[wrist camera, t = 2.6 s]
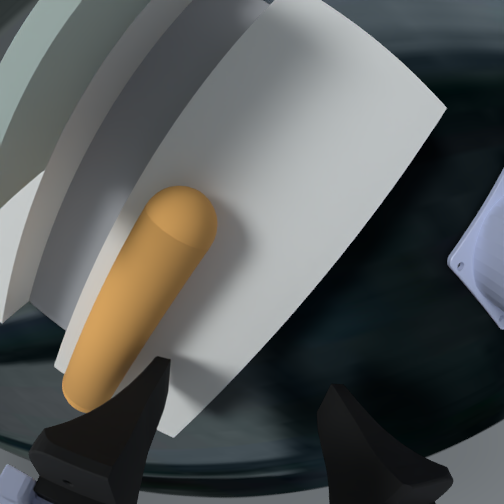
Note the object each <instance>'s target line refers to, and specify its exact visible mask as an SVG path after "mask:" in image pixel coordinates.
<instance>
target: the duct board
mask: <svg viewBox="0 0 504 504" xmlns="http://www.w3.org/2000/svg"><path fill="white" fill-rule="evenodd" d="M445 110H446V107H445V106H444V104H443V103H442V102H441V101H440V100H439V99H438V98H437V97H436V96H435V95H434V94H433V92H432V91H431V90H430V89H429V88H428V87H427V86H426V85H425V84H424V83H423V82H422V81H421V80H420V79H419V78H418V77H417V76H416V75H415V74H414V73H413V72H412V71H411V70H409V69H408V68H407V67H406V66H405V65H404V64H403V63H402V62H401V61H400V60H399V59H398V58H396V57H395V56H394V55H393V54H392V53H391V52H390V51H388V50H387V49H386V48H385V47H384V46H382V45H381V44H380V43H379V42H378V41H376V40H375V39H374V38H373V37H371V36H370V35H369V34H368V33H366V32H365V31H364V30H363V29H361V28H360V27H359V26H357V25H356V24H355V23H353V22H352V21H350V20H349V19H348V18H346V17H345V16H343V15H342V14H341V13H339V12H338V11H336V10H335V9H333V8H332V7H330V6H329V5H327V4H326V3H324V2H323V1H321V0H274V1H273V2H272V4H271V5H270V4H268V3H266V2H264V1H263V0H151V1H150V2H149V3H148V4H147V5H146V7H145V8H144V9H143V10H142V11H141V12H140V14H139V15H138V16H137V17H136V18H135V20H134V21H133V22H132V23H131V25H130V26H129V27H128V28H127V30H126V31H125V32H124V34H123V35H122V36H121V38H120V39H119V40H118V42H117V43H116V44H115V46H114V47H113V49H112V50H111V51H110V53H109V54H108V56H107V57H106V59H105V60H104V61H103V63H102V64H101V66H100V67H99V69H98V70H97V72H96V74H95V75H94V77H93V78H92V80H91V81H90V83H89V85H88V86H87V88H86V90H85V91H84V93H83V95H82V96H81V98H80V100H79V102H78V103H77V105H76V107H75V109H74V110H73V112H72V114H71V116H70V118H69V120H68V122H67V123H66V125H65V127H64V129H63V131H62V133H61V135H60V137H59V139H58V141H57V144H56V146H55V148H54V150H53V152H52V154H51V156H50V159H49V161H48V163H47V166H46V168H45V170H44V171H43V172H41V173H40V174H39V175H38V176H37V177H35V178H34V179H33V180H32V181H31V182H29V183H28V184H27V185H26V186H25V187H24V188H22V189H21V190H20V191H19V192H18V193H17V194H16V195H15V196H13V197H12V198H11V199H10V200H9V201H8V202H7V203H6V204H5V205H4V206H3V207H2V208H1V209H0V322H1V323H3V322H4V321H5V320H7V319H8V318H9V317H10V316H11V315H12V314H14V313H15V312H16V311H17V310H18V309H20V308H21V307H22V306H23V305H24V304H26V303H27V302H28V301H30V302H31V303H32V304H33V305H34V306H35V307H37V308H38V309H39V310H40V311H42V312H43V313H44V314H45V315H46V316H48V317H49V318H50V319H51V320H53V321H54V322H55V323H57V324H58V325H59V326H60V327H62V328H63V329H64V330H66V333H65V336H64V339H63V341H62V344H61V347H60V350H59V353H58V356H57V359H56V362H55V365H54V367H55V368H57V369H58V370H59V371H61V372H62V373H64V374H65V372H66V369H67V367H68V364H69V361H70V359H71V356H72V354H73V351H74V349H75V346H76V344H77V342H78V339H79V337H80V334H81V332H82V330H83V327H84V325H85V323H86V320H87V318H88V316H89V314H90V311H91V309H92V307H93V305H94V303H95V301H96V298H97V296H98V294H99V292H100V290H101V288H102V286H103V284H104V282H105V280H106V278H107V276H108V274H109V272H110V270H111V268H112V266H113V264H114V262H115V260H116V258H117V256H118V254H119V252H120V250H121V248H122V246H123V245H124V243H125V241H126V239H127V237H128V235H129V234H130V232H131V230H132V228H133V226H134V225H135V223H136V221H137V219H138V217H139V216H140V214H141V212H142V211H143V209H144V207H145V205H146V204H147V202H148V201H149V200H150V199H151V198H152V197H153V196H154V195H155V194H156V193H157V192H159V191H161V190H163V189H165V188H168V187H171V186H188V187H191V188H194V189H196V190H198V191H200V192H201V193H203V194H204V195H205V196H206V197H207V198H208V199H209V200H210V202H211V204H212V205H213V207H214V209H215V212H216V216H217V233H216V236H215V239H214V241H213V243H212V245H211V247H210V248H209V250H208V251H207V253H206V254H205V255H204V257H203V258H202V260H201V261H200V263H199V264H198V266H197V267H196V268H195V270H194V271H193V273H192V274H191V276H190V277H189V279H188V280H187V282H186V283H185V285H184V286H183V288H182V289H181V291H180V292H179V294H178V295H177V296H176V298H175V299H174V301H173V302H172V304H171V305H170V307H169V308H168V310H167V311H166V313H165V314H164V316H163V318H162V319H161V321H160V322H159V324H158V325H157V327H156V328H155V330H154V331H153V333H152V334H151V336H150V337H149V339H148V340H147V342H146V344H145V345H144V347H143V348H142V350H141V351H140V353H139V354H138V356H137V358H136V359H135V361H134V362H133V364H132V365H131V367H130V369H129V370H128V372H127V373H126V375H125V376H124V378H123V380H122V381H121V383H120V384H119V386H118V388H117V389H116V391H115V392H114V394H113V396H112V397H111V398H113V397H114V396H115V395H117V394H118V393H119V392H120V391H122V390H123V389H124V388H125V387H126V386H128V385H129V384H130V383H131V382H132V381H133V380H134V379H135V378H136V377H137V376H138V375H139V374H140V373H141V372H142V371H143V370H144V369H145V368H146V367H147V366H148V365H149V364H150V363H151V362H152V360H153V359H154V358H155V357H157V356H159V357H164V358H168V359H171V365H170V377H169V391H168V395H167V400H166V404H165V408H164V411H163V414H162V417H161V419H160V422H159V425H158V427H157V430H159V431H161V432H163V433H165V434H167V435H169V436H171V437H173V438H174V437H175V436H176V435H177V434H178V433H179V432H180V431H181V430H182V429H183V428H184V427H185V426H186V425H188V424H189V423H190V422H191V421H192V420H193V419H194V418H195V417H196V416H197V415H198V414H199V413H200V412H201V411H202V410H203V409H204V408H205V407H206V406H207V405H208V404H209V403H210V402H211V401H212V400H213V399H214V398H215V397H216V396H217V395H218V394H219V393H220V392H221V391H222V390H223V389H224V388H225V387H226V386H227V385H228V384H229V383H230V382H231V380H232V379H233V378H234V377H235V376H236V375H237V374H238V373H239V372H240V371H241V370H242V369H243V368H244V367H245V366H246V365H247V364H248V363H249V361H250V360H251V359H252V358H253V357H254V356H255V355H256V354H257V353H258V352H259V351H260V350H261V349H262V347H263V346H264V345H265V344H266V343H267V342H268V341H269V340H270V339H271V337H272V336H273V335H274V334H275V333H276V332H277V331H278V330H279V329H280V327H281V326H282V325H283V324H284V323H285V322H286V321H287V319H288V318H289V317H290V316H291V315H292V314H293V313H294V311H295V310H296V309H297V308H298V307H299V306H300V305H301V303H302V302H303V301H304V300H305V299H306V297H307V296H308V295H309V294H310V293H311V292H312V290H313V289H314V288H315V287H316V286H317V284H318V283H319V282H320V281H321V280H322V278H323V277H324V276H325V275H326V274H327V272H328V271H329V270H330V269H331V267H332V266H333V265H334V264H335V262H336V261H337V260H338V259H339V258H340V256H341V255H342V254H343V253H344V251H345V250H346V249H347V247H348V246H349V245H350V244H351V242H352V241H353V240H354V239H355V237H356V236H357V235H358V233H359V232H360V231H361V230H362V228H363V227H364V226H365V224H366V223H367V222H368V220H369V219H370V218H371V216H372V215H373V214H374V212H375V211H376V210H377V208H378V207H379V206H380V204H381V203H382V202H383V200H384V199H385V198H386V196H387V195H388V194H389V192H390V191H391V189H392V188H393V187H394V185H395V184H396V182H397V181H398V180H399V178H400V177H401V175H402V174H403V173H404V171H405V170H406V168H407V167H408V166H409V164H410V163H411V161H412V160H413V158H414V157H415V155H416V154H417V152H418V151H419V150H420V148H421V147H422V145H423V144H424V142H425V141H426V139H427V138H428V136H429V135H430V133H431V132H432V130H433V128H434V127H435V125H436V124H437V122H438V121H439V119H440V118H441V116H442V115H443V113H444V111H445Z"/></svg>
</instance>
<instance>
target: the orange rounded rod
mask: <svg viewBox="0 0 504 504" xmlns="http://www.w3.org/2000/svg"><path fill="white" fill-rule="evenodd" d="M216 233H217V216H216V212H215V209H214V207H213V205H212V204H211V202H210V200H209V199H208V198H207V197H206V196H205V195H204V194H203V193H201V192H200V191H198V190H196V189H194V188H191V187H188V186H171V187H168V188H165V189H163V190H161V191H159V192H157V193H156V194H155V195H154V196H153V197H152V198H151V199H150V200H149V201H148V202H147V204H146V205H145V207H144V209H143V211H142V212H141V214H140V216H139V217H138V219H137V221H136V223H135V225H134V226H133V228H132V230H131V232H130V234H129V235H128V237H127V239H126V241H125V243H124V245H123V246H122V248H121V250H120V252H119V254H118V256H117V258H116V260H115V262H114V264H113V266H112V268H111V270H110V272H109V274H108V276H107V278H106V280H105V282H104V284H103V286H102V288H101V290H100V292H99V294H98V296H97V298H96V301H95V303H94V305H93V307H92V309H91V311H90V314H89V316H88V318H87V320H86V323H85V325H84V327H83V330H82V332H81V334H80V337H79V339H78V342H77V344H76V346H75V349H74V351H73V354H72V356H71V359H70V361H69V364H68V367H67V369H66V372H65V375H64V377H63V382H62V388H63V393H64V395H65V398H66V399H67V401H68V402H69V403H70V405H71V406H73V407H74V408H75V409H77V410H79V411H81V412H85V413H88V412H90V411H92V410H94V409H95V408H97V407H99V406H101V405H102V404H104V403H105V402H107V401H108V400H110V399H111V397H112V396H113V394H114V392H115V391H116V389H117V388H118V386H119V384H120V383H121V381H122V380H123V378H124V376H125V375H126V373H127V372H128V370H129V369H130V367H131V365H132V364H133V362H134V361H135V359H136V358H137V356H138V354H139V353H140V351H141V350H142V348H143V347H144V345H145V344H146V342H147V340H148V339H149V337H150V336H151V334H152V333H153V331H154V330H155V328H156V327H157V325H158V324H159V322H160V321H161V319H162V318H163V316H164V314H165V313H166V311H167V310H168V308H169V307H170V305H171V304H172V302H173V301H174V299H175V298H176V296H177V295H178V294H179V292H180V291H181V289H182V288H183V286H184V285H185V283H186V282H187V280H188V279H189V277H190V276H191V274H192V273H193V271H194V270H195V268H196V267H197V266H198V264H199V263H200V261H201V260H202V258H203V257H204V255H205V254H206V253H207V251H208V250H209V248H210V247H211V245H212V243H213V241H214V239H215V236H216Z"/></svg>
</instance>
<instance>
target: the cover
mask: <svg viewBox="0 0 504 504" xmlns="http://www.w3.org/2000/svg"><path fill="white" fill-rule="evenodd" d="M150 1H151V0H39V1H38V3H37V4H36V6H35V7H34V8H33V10H32V11H31V13H30V14H29V16H28V17H27V19H26V20H25V22H24V23H23V25H22V26H21V28H20V30H19V31H18V33H17V35H16V36H15V38H14V40H13V41H12V43H11V45H10V46H9V48H8V50H7V52H6V54H5V55H4V57H3V59H2V61H1V63H0V209H1V208H2V207H3V206H4V205H5V204H6V203H7V202H8V201H9V200H10V199H11V198H12V197H13V196H15V195H16V194H17V193H18V192H19V191H20V190H21V189H22V188H24V187H25V186H26V185H27V184H28V183H29V182H31V181H32V180H33V179H34V178H35V177H37V176H38V175H39V174H40V173H41V172H43V171H44V170H45V168H46V166H47V163H48V161H49V159H50V156H51V154H52V152H53V150H54V148H55V146H56V144H57V141H58V139H59V137H60V135H61V133H62V131H63V129H64V127H65V125H66V123H67V122H68V120H69V118H70V116H71V114H72V112H73V110H74V109H75V107H76V105H77V103H78V102H79V100H80V98H81V96H82V95H83V93H84V91H85V90H86V88H87V86H88V85H89V83H90V81H91V80H92V78H93V77H94V75H95V74H96V72H97V70H98V69H99V67H100V66H101V64H102V63H103V61H104V60H105V59H106V57H107V56H108V54H109V53H110V51H111V50H112V49H113V47H114V46H115V44H116V43H117V42H118V40H119V39H120V38H121V36H122V35H123V34H124V32H125V31H126V30H127V28H128V27H129V26H130V25H131V23H132V22H133V21H134V20H135V18H136V17H137V16H138V15H139V14H140V12H141V11H142V10H143V9H144V8H145V7H146V5H147V4H148V3H149V2H150Z"/></svg>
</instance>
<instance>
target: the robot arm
mask: <svg viewBox="0 0 504 504" xmlns="http://www.w3.org/2000/svg"><path fill="white" fill-rule="evenodd" d="M459 263H460V266H459V267H458V264H459ZM447 264H448V266H449V268H450V269H451V270H452V271H453V272H454V273H455V274H456V275H457V276H458V278H459V279H460V280H461V281H462V282H463V283H464V285H465V286H466V287H467V288H468V289H469V290H470V292H471V293H472V294H473V295H474V296H475V298H476V299H477V300H478V301H479V302H480V304H481V305H482V306H483V307H484V309H485V310H486V311H487V312H488V314H489V315H490V316H491V318H492V319H493V320H494V321H495V323H496V324H497V325H498V327H499V328H500V329H504V168H503V170H502V172H501V174H500V176H499V178H498V179H497V181H496V183H495V185H494V187H493V188H492V190H491V192H490V194H489V195H488V197H487V199H486V200H485V202H484V204H483V205H482V207H481V209H480V210H479V212H478V213H477V215H476V217H475V218H474V220H473V221H472V223H471V224H470V226H469V227H468V229H467V230H466V232H465V233H464V235H463V236H462V238H461V239H460V241H459V242H458V244H457V245H456V246H455V248H454V249H453V251H452V252H451V254H450V255H449V257H448V260H447ZM170 365H171V359H168V358H164V357H159V356H157V357H155V358H154V359H153V360H152V362H151V363H150V364H149V365H148V366H147V367H146V368H145V369H144V370H143V371H142V372H141V373H140V374H139V375H138V376H137V377H136V378H135V379H134V380H133V381H132V382H131V383H130V384H129V385H128V386H126V387H125V388H124V389H123V390H122V391H120V392H119V393H118V394H117V395H115V396H114V397H113V398H111V399H110V400H108V401H107V402H105V403H104V404H102V405H101V406H99V407H97V408H95V409H94V410H92V411H90V412H88V413H86V414H84V415H82V416H80V417H77V418H75V419H73V420H70V421H68V422H65V423H62V424H59V425H56V426H52V427H49V428H45V429H44V430H43V431H42V432H41V434H40V435H39V436H38V437H37V439H36V440H35V442H34V444H33V446H32V447H31V449H30V451H29V458H30V460H31V462H32V464H33V466H34V467H35V469H36V470H37V472H38V474H39V475H40V476H39V478H38V481H35V480H34V479H33V478H32V477H30V476H29V475H27V474H25V473H24V472H22V471H20V470H18V469H16V468H15V467H13V466H11V465H10V464H7V465H6V466H5V468H4V470H3V472H2V473H1V475H0V504H137V500H138V494H139V490H140V485H141V480H142V476H143V471H144V467H145V463H146V458H147V455H148V451H149V448H150V446H151V443H152V440H153V438H154V435H155V432H156V430H157V427H158V425H159V422H160V419H161V417H162V414H163V411H164V408H165V404H166V400H167V395H168V391H169V377H170ZM317 425H318V434H319V438H320V443H321V447H322V452H323V456H324V460H325V465H326V469H327V475H328V485H329V500H330V501H329V502H330V504H435V501H436V500H437V499H438V498H439V497H441V495H443V494H444V493H445V492H446V491H447V490H448V489H449V488H450V487H451V486H452V484H453V478H452V476H451V474H450V472H449V470H448V468H447V467H445V466H443V465H440V464H437V463H435V462H433V461H431V460H429V459H427V458H425V457H423V456H421V455H419V454H417V453H415V452H414V451H412V450H411V449H409V448H408V447H406V446H405V445H403V444H402V443H400V442H399V441H398V440H396V439H395V438H394V437H393V436H391V435H390V434H389V433H388V432H387V431H386V430H384V429H383V428H382V427H381V426H380V425H379V424H378V423H377V422H376V421H375V420H374V419H373V418H372V417H371V416H370V414H369V413H368V412H367V411H366V410H365V409H364V408H363V407H362V406H361V404H360V403H359V402H358V401H357V400H356V399H355V397H354V396H353V395H352V394H351V393H350V391H349V390H348V389H347V388H346V387H345V386H344V385H343V384H331V385H330V387H329V389H328V391H327V394H326V396H325V398H324V400H323V402H322V404H321V406H320V407H319V409H318V411H317Z"/></svg>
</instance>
